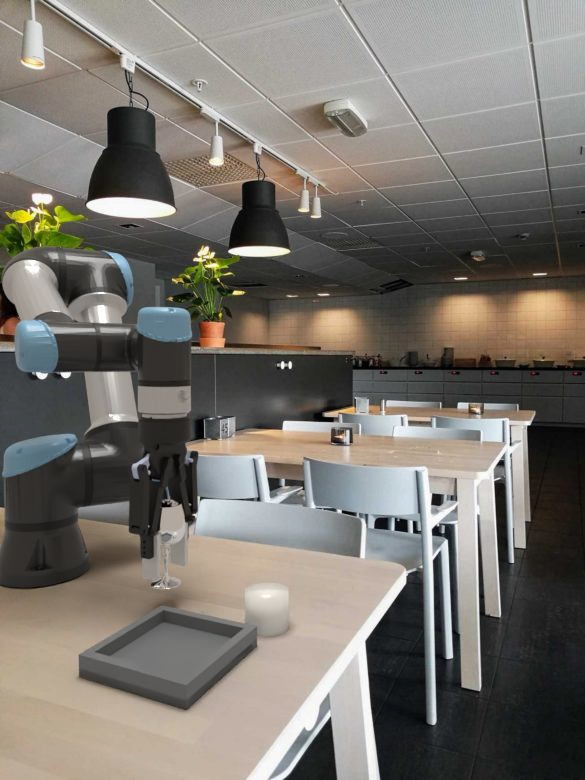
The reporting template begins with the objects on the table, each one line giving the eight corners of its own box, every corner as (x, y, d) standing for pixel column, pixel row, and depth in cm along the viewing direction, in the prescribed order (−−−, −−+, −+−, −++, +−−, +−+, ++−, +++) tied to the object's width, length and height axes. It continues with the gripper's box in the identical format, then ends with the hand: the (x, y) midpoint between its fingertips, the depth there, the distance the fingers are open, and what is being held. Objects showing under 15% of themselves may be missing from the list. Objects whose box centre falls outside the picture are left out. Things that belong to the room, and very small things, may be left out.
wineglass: (151, 594, 82) (150, 510, 81) (141, 579, 87) (141, 501, 86) (190, 587, 84) (190, 506, 83) (179, 573, 89) (179, 496, 89)
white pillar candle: (236, 631, 78) (236, 595, 77) (258, 614, 83) (258, 579, 83) (276, 640, 75) (276, 602, 75) (296, 622, 80) (296, 586, 80)
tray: (79, 676, 66) (78, 654, 66) (162, 623, 80) (161, 605, 80) (186, 709, 60) (186, 685, 60) (257, 646, 73) (256, 626, 73)
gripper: (142, 423, 74) (143, 600, 75) (222, 410, 91) (221, 555, 92) (97, 420, 77) (100, 589, 79) (182, 408, 94) (183, 548, 95)
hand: (165, 570), depth 85 cm, fingers closed on wineglass, 6 cm apart
